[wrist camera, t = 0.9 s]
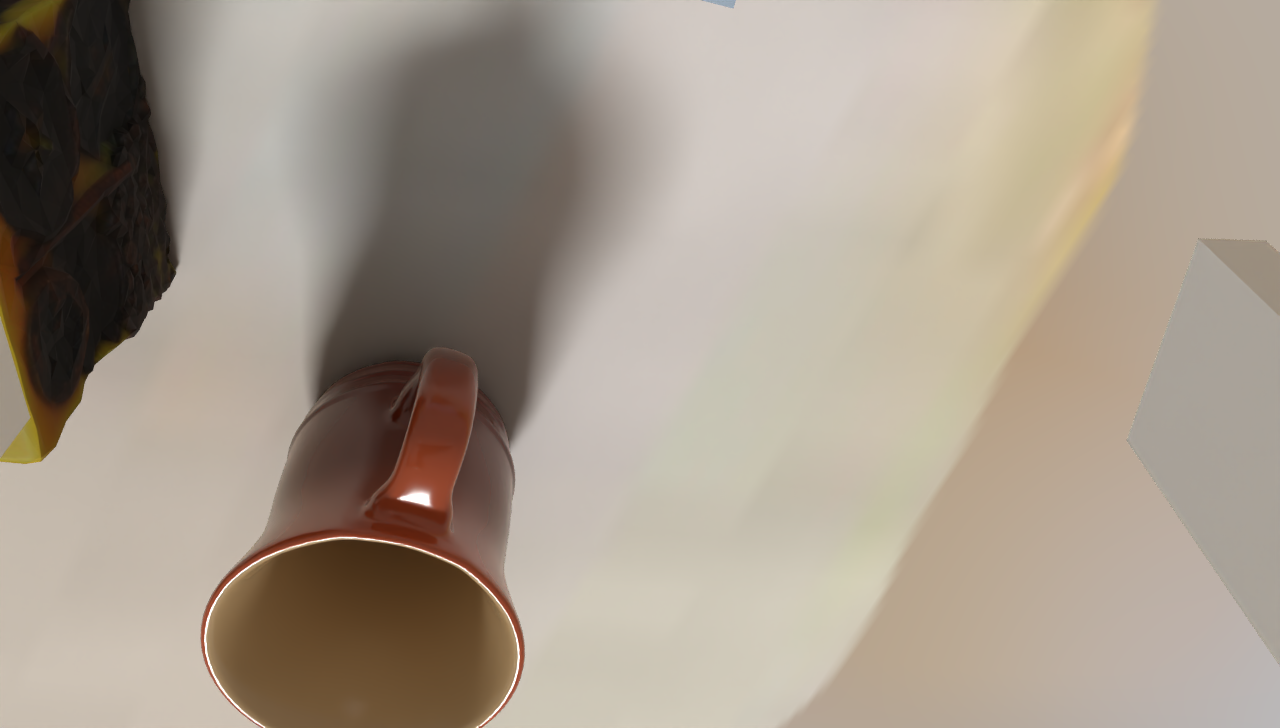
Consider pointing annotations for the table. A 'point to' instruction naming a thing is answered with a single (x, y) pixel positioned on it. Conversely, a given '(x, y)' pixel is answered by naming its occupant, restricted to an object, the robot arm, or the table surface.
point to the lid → (723, 2)
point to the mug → (379, 563)
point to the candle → (73, 202)
